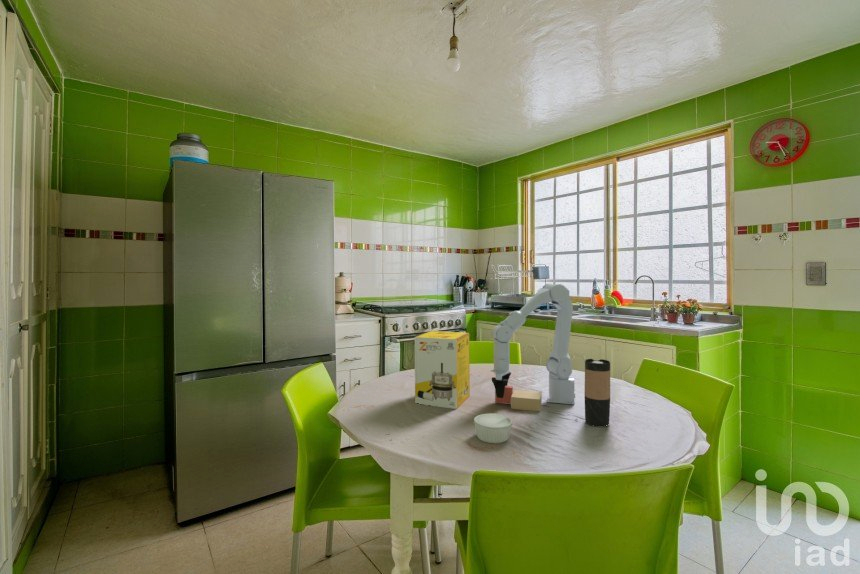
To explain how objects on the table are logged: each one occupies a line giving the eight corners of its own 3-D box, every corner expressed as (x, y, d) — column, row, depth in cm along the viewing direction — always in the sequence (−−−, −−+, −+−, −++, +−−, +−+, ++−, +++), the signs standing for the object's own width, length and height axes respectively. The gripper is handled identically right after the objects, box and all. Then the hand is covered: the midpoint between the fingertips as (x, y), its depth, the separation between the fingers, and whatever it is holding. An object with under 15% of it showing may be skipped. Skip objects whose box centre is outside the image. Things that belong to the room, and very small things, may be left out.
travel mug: (598, 429, 125) (599, 364, 124) (579, 421, 131) (579, 360, 131) (615, 424, 128) (615, 362, 127) (595, 416, 135) (595, 357, 134)
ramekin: (512, 446, 113) (512, 428, 113) (472, 444, 115) (472, 425, 115) (511, 431, 124) (511, 414, 124) (475, 429, 126) (475, 412, 126)
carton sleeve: (541, 403, 149) (541, 392, 149) (540, 411, 141) (540, 399, 140) (514, 400, 152) (514, 389, 152) (511, 408, 144) (511, 396, 144)
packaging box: (415, 403, 150) (414, 337, 149) (431, 391, 165) (430, 330, 164) (456, 409, 144) (456, 339, 143) (469, 396, 159) (469, 332, 158)
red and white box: (538, 401, 149) (538, 386, 149) (537, 408, 142) (537, 392, 141) (497, 398, 154) (497, 383, 153) (494, 404, 146) (494, 388, 146)
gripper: (493, 353, 157) (494, 388, 157) (487, 361, 143) (487, 399, 144) (512, 354, 155) (512, 389, 155) (507, 362, 141) (507, 401, 141)
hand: (501, 394), depth 149 cm, fingers open, 7 cm apart
